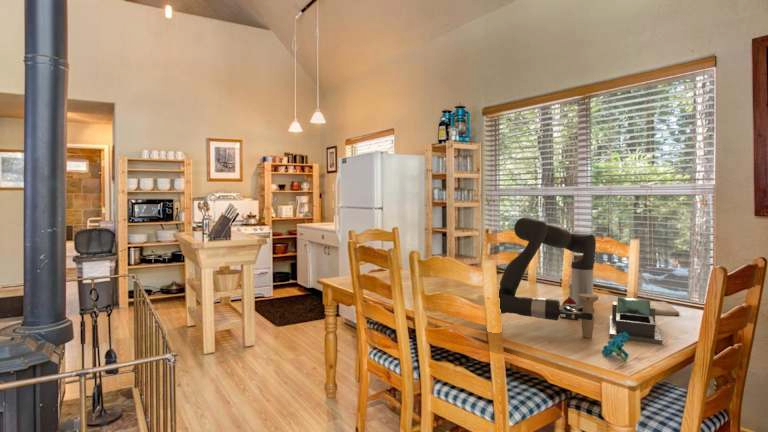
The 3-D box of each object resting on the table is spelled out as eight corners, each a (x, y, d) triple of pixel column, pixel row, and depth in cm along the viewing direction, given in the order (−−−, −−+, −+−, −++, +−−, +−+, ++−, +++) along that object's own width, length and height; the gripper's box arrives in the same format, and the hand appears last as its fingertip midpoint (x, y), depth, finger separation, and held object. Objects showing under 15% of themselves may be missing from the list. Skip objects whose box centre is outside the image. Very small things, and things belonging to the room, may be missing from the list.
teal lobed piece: (600, 343, 150) (625, 326, 146) (614, 357, 149) (639, 340, 145) (599, 358, 141) (626, 340, 136) (614, 373, 139) (641, 355, 135)
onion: (576, 314, 192) (576, 295, 192) (577, 317, 187) (577, 298, 187) (561, 312, 194) (562, 294, 194) (562, 316, 189) (562, 297, 188)
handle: (596, 340, 158) (597, 297, 158) (577, 337, 161) (577, 295, 161) (597, 336, 163) (598, 295, 162) (578, 333, 166) (579, 293, 165)
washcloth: (664, 307, 207) (665, 300, 206) (680, 317, 189) (681, 310, 189) (636, 305, 209) (636, 298, 209) (649, 315, 192) (649, 308, 192)
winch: (609, 337, 161) (610, 309, 161) (610, 318, 186) (610, 294, 186) (661, 344, 154) (662, 315, 153) (655, 323, 179) (656, 298, 178)
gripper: (542, 302, 162) (592, 308, 154) (548, 294, 174) (594, 299, 167) (542, 323, 162) (592, 329, 155) (547, 314, 175) (593, 319, 167)
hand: (593, 314), depth 161 cm, fingers open, 8 cm apart
